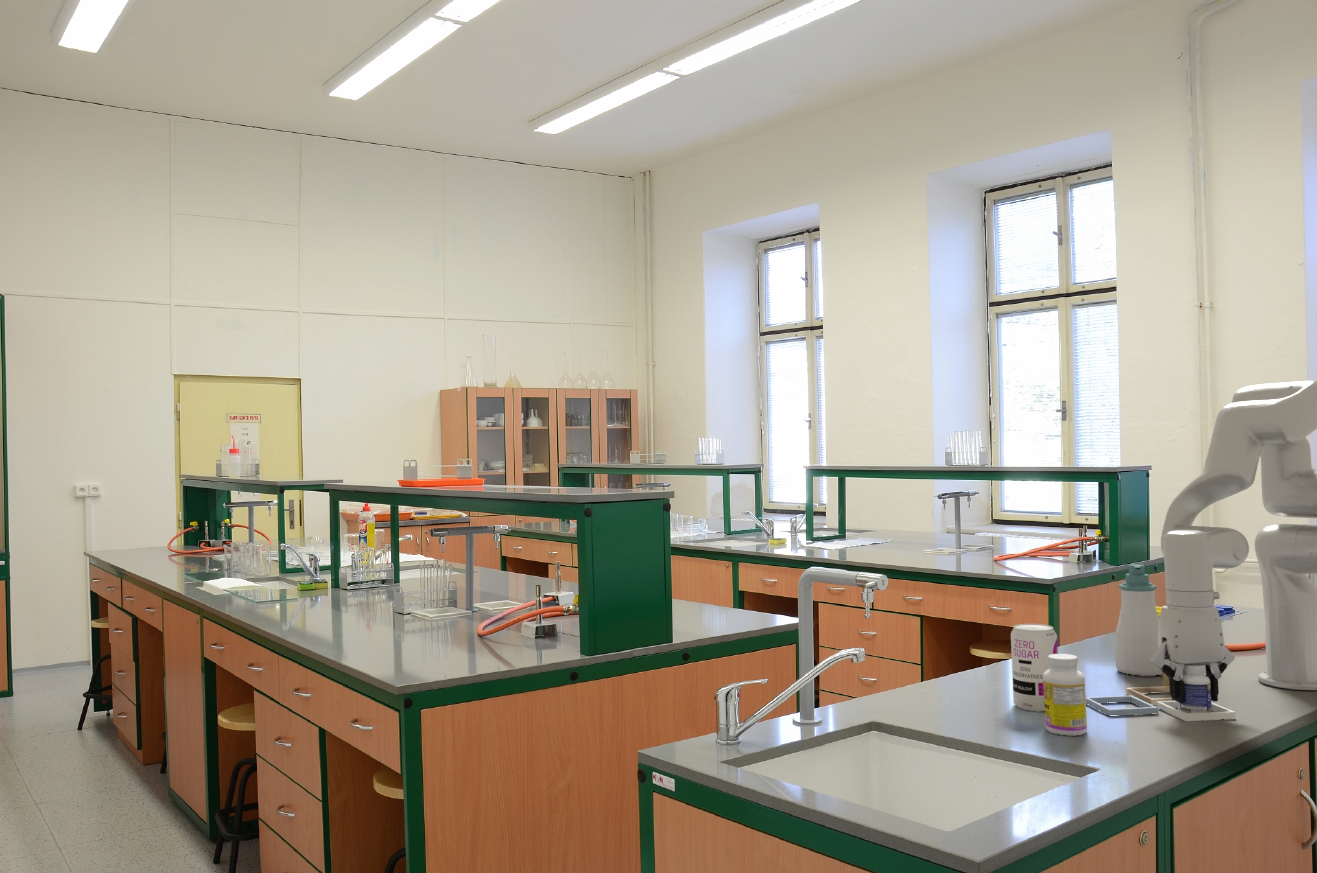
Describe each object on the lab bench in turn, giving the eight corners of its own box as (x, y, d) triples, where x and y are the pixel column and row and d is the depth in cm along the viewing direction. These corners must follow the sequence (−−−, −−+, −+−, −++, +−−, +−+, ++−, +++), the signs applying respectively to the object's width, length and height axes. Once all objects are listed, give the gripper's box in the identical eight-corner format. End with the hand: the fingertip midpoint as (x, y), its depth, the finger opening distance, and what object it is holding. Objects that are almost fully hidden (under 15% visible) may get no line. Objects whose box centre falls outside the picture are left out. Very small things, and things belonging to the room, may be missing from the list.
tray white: (1204, 705, 177) (1203, 699, 177) (1235, 719, 168) (1235, 712, 168) (1156, 708, 176) (1156, 701, 177) (1185, 721, 168) (1185, 714, 168)
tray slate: (1131, 701, 181) (1131, 695, 181) (1158, 714, 172) (1158, 707, 172) (1085, 704, 181) (1084, 697, 181) (1109, 716, 172) (1109, 710, 172)
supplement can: (1058, 702, 183) (1055, 623, 183) (1061, 714, 175) (1058, 631, 175) (1013, 700, 185) (1010, 622, 186) (1014, 711, 178) (1010, 630, 178)
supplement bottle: (1048, 724, 169) (1045, 651, 169) (1089, 728, 165) (1086, 654, 166) (1042, 734, 163) (1039, 658, 163) (1084, 739, 159) (1081, 661, 160)
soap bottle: (1117, 676, 202) (1112, 567, 202) (1114, 666, 211) (1109, 562, 211) (1170, 678, 198) (1164, 568, 199) (1164, 668, 207) (1159, 562, 208)
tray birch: (1171, 692, 187) (1171, 686, 187) (1199, 703, 178) (1199, 697, 178) (1126, 694, 187) (1126, 688, 187) (1152, 706, 178) (1151, 699, 178)
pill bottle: (1216, 717, 169) (1214, 667, 169) (1184, 717, 170) (1181, 667, 170) (1205, 709, 174) (1203, 660, 174) (1174, 709, 175) (1172, 660, 176)
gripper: (1222, 594, 177) (1227, 693, 176) (1132, 598, 176) (1136, 697, 176) (1249, 600, 169) (1254, 703, 169) (1154, 604, 169) (1159, 708, 168)
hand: (1194, 699), depth 172 cm, fingers closed on pill bottle, 5 cm apart
